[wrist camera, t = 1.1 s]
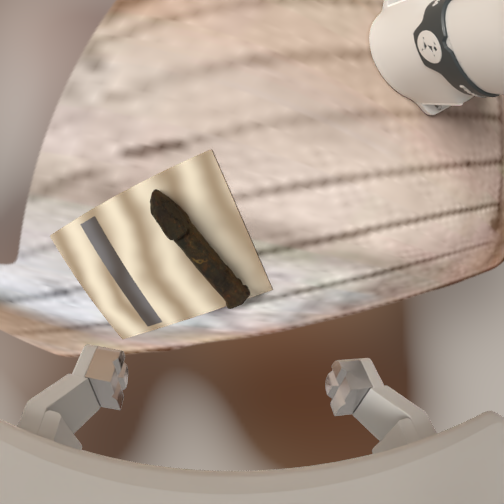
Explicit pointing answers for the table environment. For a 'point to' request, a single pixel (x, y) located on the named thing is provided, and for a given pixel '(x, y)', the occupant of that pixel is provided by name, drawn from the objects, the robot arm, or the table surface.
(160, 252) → the sheet
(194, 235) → the hand tool
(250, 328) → the table surface
